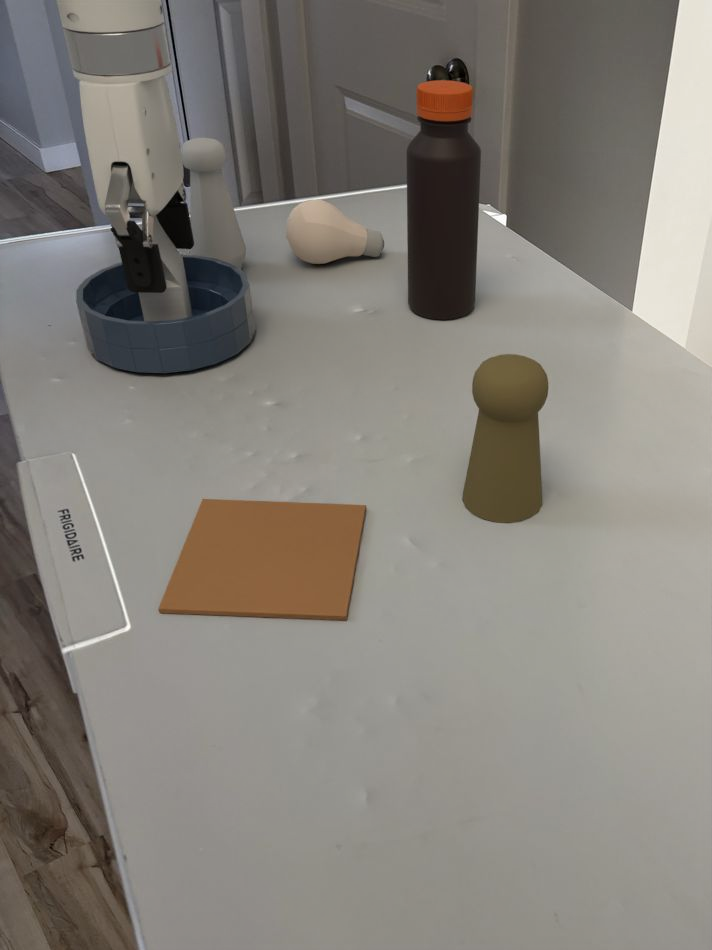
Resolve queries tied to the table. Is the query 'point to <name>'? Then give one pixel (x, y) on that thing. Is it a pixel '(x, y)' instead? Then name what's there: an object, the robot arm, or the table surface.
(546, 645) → the table surface
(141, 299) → the white milk carton
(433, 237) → the bottle
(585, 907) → the table surface
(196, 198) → the salt shaker
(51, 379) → the table surface
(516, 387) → the pepper shaker
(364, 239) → the light bulb
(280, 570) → the mat
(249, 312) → the bowl
